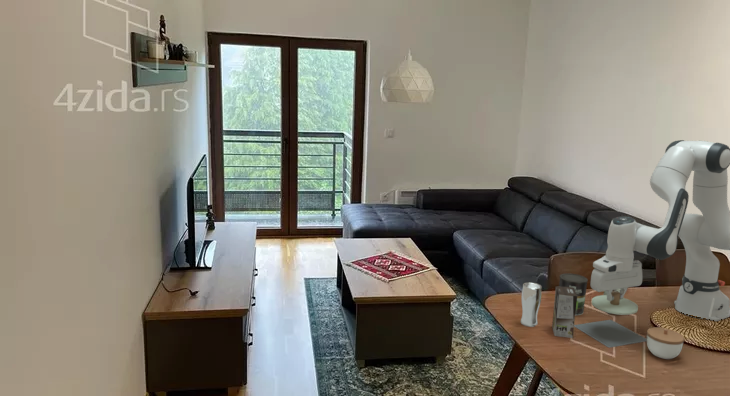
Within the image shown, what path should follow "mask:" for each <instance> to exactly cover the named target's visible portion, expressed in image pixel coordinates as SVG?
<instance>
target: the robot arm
mask: <svg viewBox="0 0 730 396" xmlns="http://www.w3.org/2000/svg"><path fill="white" fill-rule="evenodd" d="M729 167H730V147H729V146H728V145H727V144H724V143H722V142H714V141H713V142H712V141H708V140H707V141H706V140H683V139H682V140H675V141H672V142H671V143H669V145H668V146H667V147H666V148H665V152H664V154H663V155H662V157H661V158H660V159H659V161H658V163H657V164H656V166H655V168H654V170H653V172H652V173H651V176H650V178H649V179H650V180H649V185H650V189H652V191H653V192H654V193H655V194H656V195H657V196H658V197H659V198H661V199H662V200H663V201H666V202H667V204H668V209H667V213H666V217H665V219H664V222H663V225H662V227H660V228H656V227H652V226H648V225H645V224H641V223H639V222H637V221H636V219H634V218H633V217H631V216H624V215H623V216H617V217H613V218H612V220H611V222H610V225H609V228H608V232H607V241H606V242H607V249H606V251H605V255H603V256H602V257H601V258H598V259H597V260H595V261H593V262H592V267H593V268H594V269H593V270H592V272H591V276H590V288H591V289H592V290H593V291H595V292H597V293H601V292H604V291H605V292H606V294H607V300H608V301H613V300H614V296H612V294H611V292H612V290H615V289H620V291H619V293H620V299H623V298H625V297H624V296H625V294H626V293H627V292H628V288H633V287H640V286H641V285H642V283H643V268H642V267H643V263H642V262H641V261H640V260H638V259H637V260H636V259H635V257H634V256H635V253H634V252H638V253H640V254H643V255H644V254H645V255H646V256H649V257H652V258H654V259H657V260H658V261H659V260H660V261H662V260H666V259H669V258H671V256H673V255H674V254H675V253H676V250H677V248H678V240H679V238H680V240H681V242H682V245H683V247H684V250H685V256H686V257H685V258H686V260H685V268H684V269H685V270H684V274H683V276H682V280H681V285H680V286H679V290H678V293H677V296H676V300H675V299H674V301H673V302H674V308H675V310H676V311H677V312H679V313H681V312H682V313H681V314H683V313H684V315H686V314H688V315H687V316H689V315H693V316H697V317H701V318H700V319H703V318H706V319H705V320H709V319H710V320H709V321H713V320H714V322H719V321H721V319H722V320H724V319H727V318H729V317H730V298H729V297H728V295H726V294H725V293H724V292H722V290H721V289H720V286H721V287H725V285H726V281H723V280H721V279H718V278H719V273H720V266H721V263H720V260H719V258H718V257H717V256H716V255H715V254H714V253H713V251H712V249H711V248H713V249H717V250H723V251H730V208H729V205H728V204H729V203H728V180H729V179H728V177H729V176H728V175H729V174H728V168H729ZM693 171H694V172H693ZM692 172H693V179H692V204H693V205H694V206H695V207H696V208H697V209H698V210H699V211H700V212H701V214H698V213H686V212H687V208H688V204H689V197H690V196H689V192H688V191H687V190H686V185H687V182H688V180H689V178H690V177H691V175H692V174H691V173H692ZM634 259H635V260H634Z"/></svg>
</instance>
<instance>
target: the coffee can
mask: <svg viewBox="0 0 730 396" xmlns="http://www.w3.org/2000/svg"><path fill="white" fill-rule="evenodd" d="M588 280H589V279H588V278H587V277H586V276H584V275H581V274H577V273H561V274H559V282H558V283H559V284H558V286H560V287H573V288H574V290H575V292H576V294H577V296H578V297H577V304H576V312H575V316H581V315H583V314H584V312H585V311H584V310H585V303H586V302H585V301H586V294H587V285H588Z"/></svg>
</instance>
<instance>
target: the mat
mask: <svg viewBox="0 0 730 396" xmlns="http://www.w3.org/2000/svg"><path fill="white" fill-rule="evenodd" d="M574 328H575V329H577V330H579V331H581V332H582V333H584V334H586V335H587V336H589V337H590V338H592V339H594V340H595V341H597V342H598V343H600V344H602V345H604V346H605V347H606V348H609V349H610V348H615V347H621V346H627V345H632V344H633V345H634V344H638V343H639V344H640V343H644V342H647V337H644V336H642V335H640V334H638V333H636V332H634V331H633V330H631V329H629V328H627V327H625V326H623V325H622V324H619V322H616V321H614V320H613V319H607V320H599V321H591V322H586V323H580V324H579V323H578V324H574Z"/></svg>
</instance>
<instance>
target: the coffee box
mask: <svg viewBox="0 0 730 396" xmlns="http://www.w3.org/2000/svg"><path fill="white" fill-rule="evenodd" d="M554 292H555V293H554V302H553V313H552V314H553V316H552V324H551V325H552V332H553V335H554V336H555V337H560V338H568V339H569V338H570V339H573V338H574V337H573V336H574V329H575V327H574V325H575V319H576V315H575V312H576V304H577V297H578V296H577V294H576V292H575V290H574V288H573V287H560V286H559V285H558V286H555V291H554Z"/></svg>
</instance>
